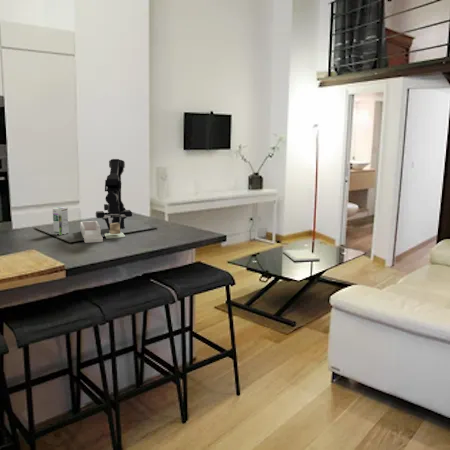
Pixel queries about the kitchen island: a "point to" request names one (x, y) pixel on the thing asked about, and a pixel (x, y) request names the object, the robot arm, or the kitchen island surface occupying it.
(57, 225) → the syrup box
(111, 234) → the sage pad
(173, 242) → the kitchen island surface
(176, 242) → the kitchen island surface
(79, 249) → the kitchen island surface
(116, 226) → the maple block
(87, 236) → the trap channel
